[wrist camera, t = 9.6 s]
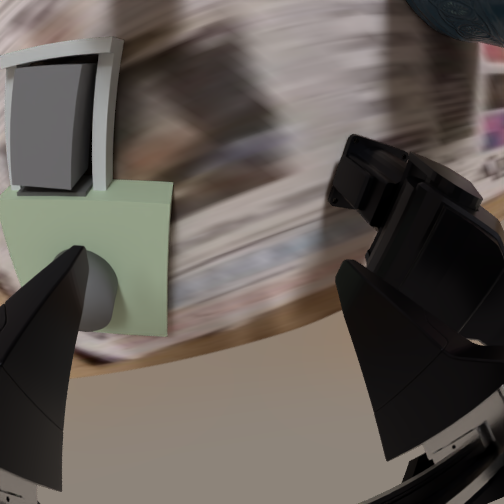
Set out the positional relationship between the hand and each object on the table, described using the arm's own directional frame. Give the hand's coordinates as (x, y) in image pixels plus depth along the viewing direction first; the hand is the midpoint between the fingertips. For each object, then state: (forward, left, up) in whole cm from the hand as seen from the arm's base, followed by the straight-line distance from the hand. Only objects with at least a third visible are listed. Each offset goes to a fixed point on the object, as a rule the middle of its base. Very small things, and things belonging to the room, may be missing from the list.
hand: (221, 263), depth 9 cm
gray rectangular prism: (+11, -2, -13) cm, 17 cm away
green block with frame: (+9, +5, -13) cm, 17 cm away
